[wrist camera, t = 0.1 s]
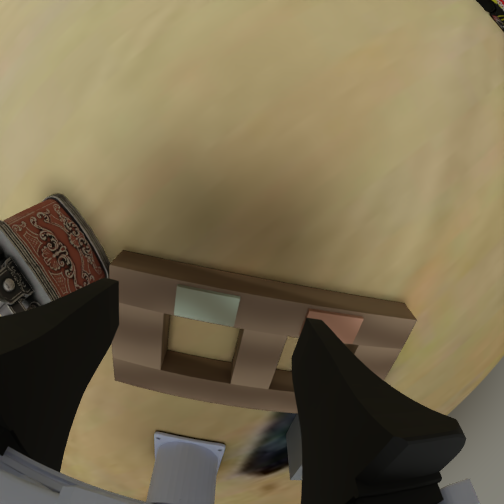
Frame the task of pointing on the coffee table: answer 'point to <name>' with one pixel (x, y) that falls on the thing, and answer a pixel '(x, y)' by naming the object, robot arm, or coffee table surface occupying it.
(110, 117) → the coffee table surface
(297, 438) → the plug
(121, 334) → the socket board
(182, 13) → the coffee table surface
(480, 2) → the race car
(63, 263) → the lighter
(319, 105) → the coffee table surface
